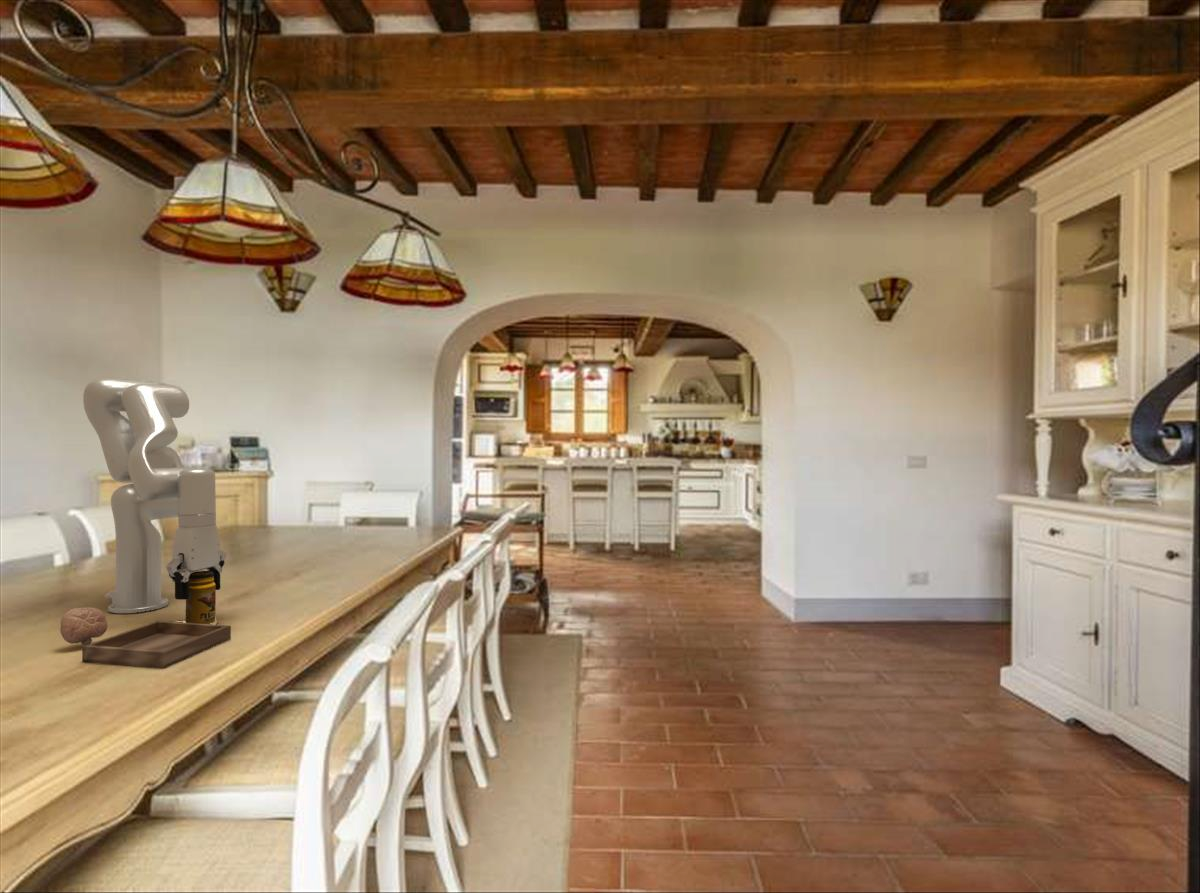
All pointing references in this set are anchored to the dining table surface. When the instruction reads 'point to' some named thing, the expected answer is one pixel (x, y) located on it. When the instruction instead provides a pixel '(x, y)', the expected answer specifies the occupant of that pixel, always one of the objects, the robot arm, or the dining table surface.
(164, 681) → the dining table surface
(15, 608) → the dining table surface
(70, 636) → the mushroom
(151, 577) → the robot arm
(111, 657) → the tray
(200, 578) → the condiment
